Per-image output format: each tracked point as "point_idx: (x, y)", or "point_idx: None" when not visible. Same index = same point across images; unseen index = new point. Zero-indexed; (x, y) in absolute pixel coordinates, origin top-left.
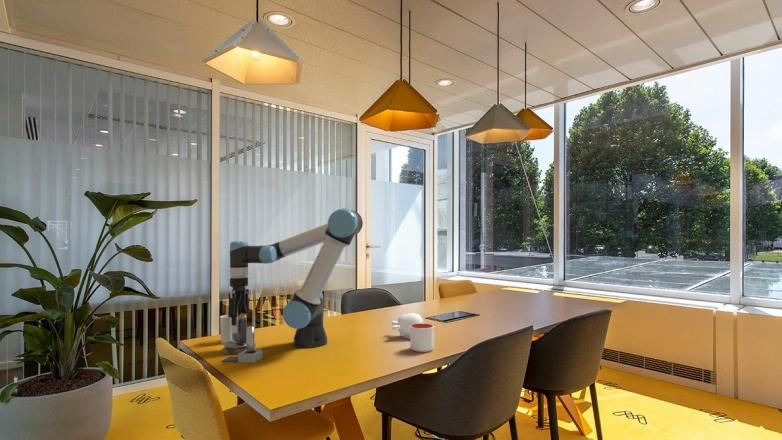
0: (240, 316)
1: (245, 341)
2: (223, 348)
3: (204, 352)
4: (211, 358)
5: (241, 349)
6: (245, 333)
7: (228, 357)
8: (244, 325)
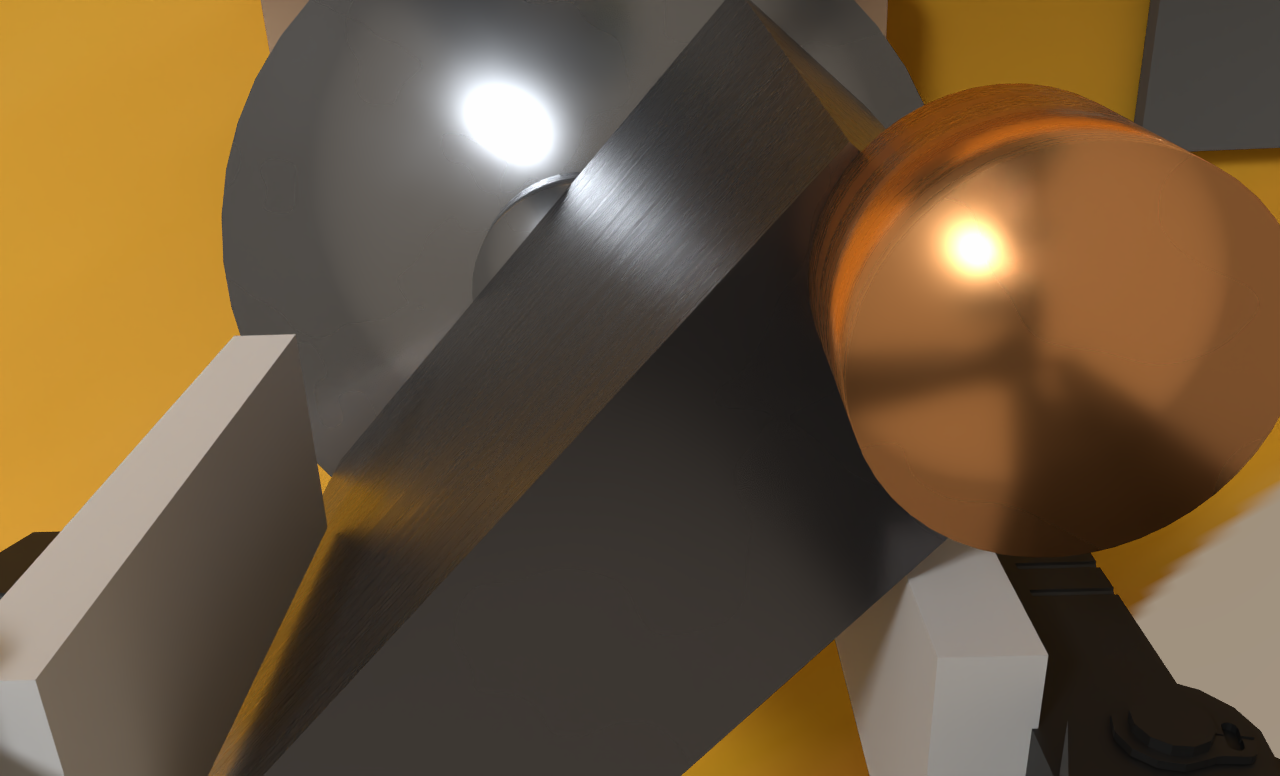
0: (1194, 481)
1: (764, 13)
2: None
3: (806, 762)
4: None
5: (881, 31)
6: (790, 47)
7: (1225, 130)
8: (873, 137)
